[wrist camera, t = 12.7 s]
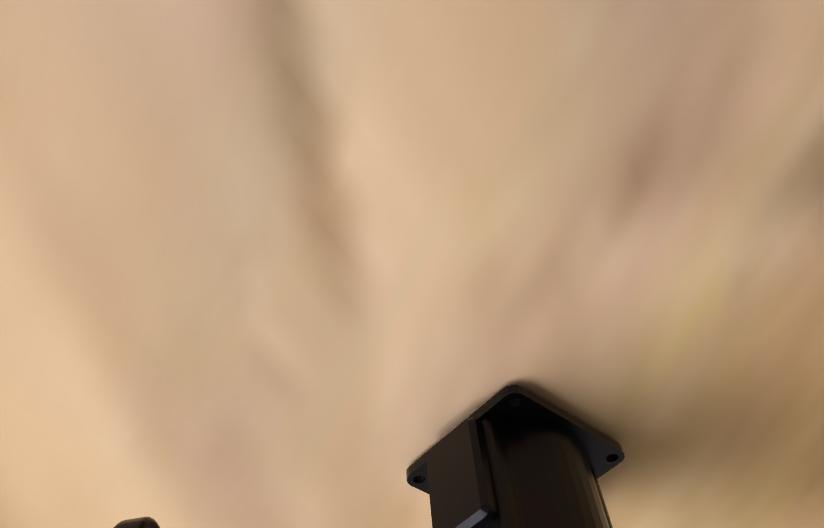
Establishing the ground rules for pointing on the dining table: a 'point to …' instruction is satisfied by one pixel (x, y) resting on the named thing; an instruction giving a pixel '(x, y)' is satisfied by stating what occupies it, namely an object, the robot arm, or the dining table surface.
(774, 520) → the dining table surface
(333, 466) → the dining table surface
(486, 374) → the dining table surface
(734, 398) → the dining table surface
